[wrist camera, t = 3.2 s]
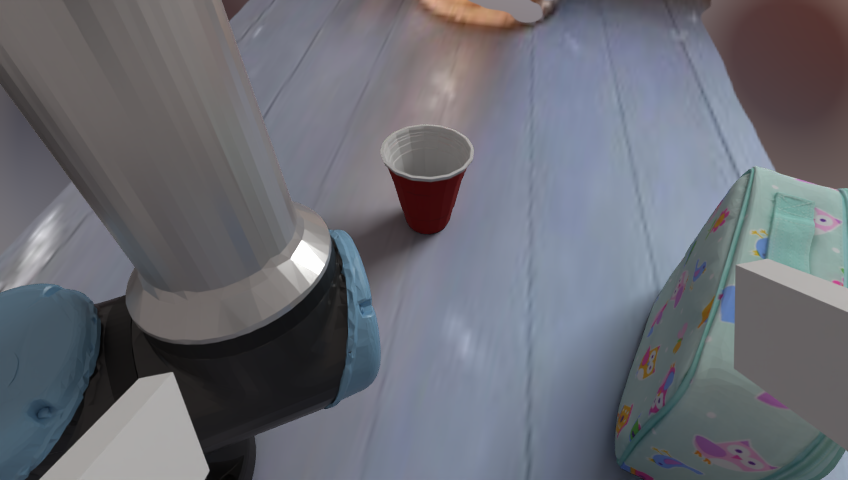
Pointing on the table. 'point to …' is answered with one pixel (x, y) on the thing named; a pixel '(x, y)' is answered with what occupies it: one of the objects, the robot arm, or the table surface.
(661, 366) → the lunch box
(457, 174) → the plastic cup
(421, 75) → the table surface
